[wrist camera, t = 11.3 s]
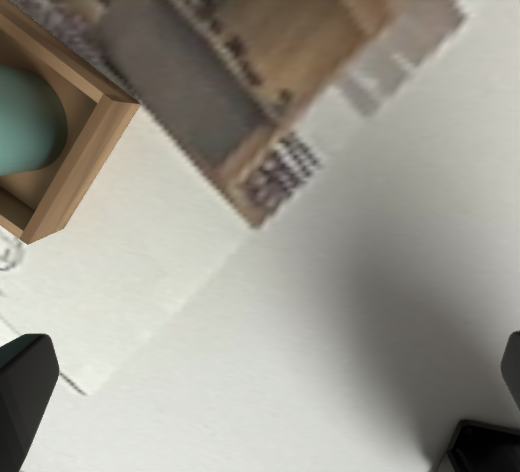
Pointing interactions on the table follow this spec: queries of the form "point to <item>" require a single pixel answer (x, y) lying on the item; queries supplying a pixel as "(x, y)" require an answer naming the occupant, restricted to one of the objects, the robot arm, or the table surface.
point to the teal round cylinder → (29, 122)
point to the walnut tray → (78, 121)
